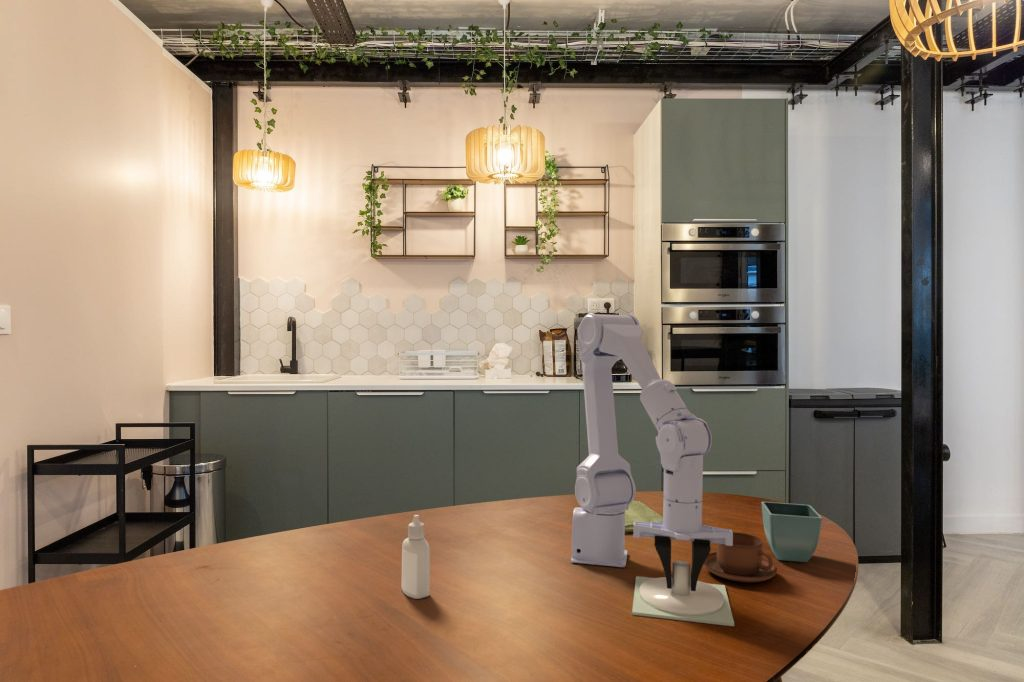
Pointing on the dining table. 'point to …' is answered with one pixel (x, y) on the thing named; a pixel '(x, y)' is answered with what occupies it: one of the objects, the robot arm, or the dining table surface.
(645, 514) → the washcloth
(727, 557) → the cup and saucer
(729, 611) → the plate
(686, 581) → the lid
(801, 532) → the flower pot
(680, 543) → the dining table surface
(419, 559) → the eye dropper bottle
